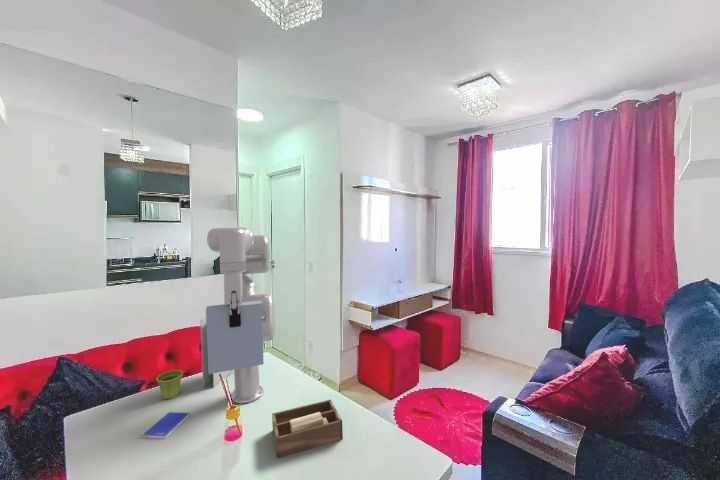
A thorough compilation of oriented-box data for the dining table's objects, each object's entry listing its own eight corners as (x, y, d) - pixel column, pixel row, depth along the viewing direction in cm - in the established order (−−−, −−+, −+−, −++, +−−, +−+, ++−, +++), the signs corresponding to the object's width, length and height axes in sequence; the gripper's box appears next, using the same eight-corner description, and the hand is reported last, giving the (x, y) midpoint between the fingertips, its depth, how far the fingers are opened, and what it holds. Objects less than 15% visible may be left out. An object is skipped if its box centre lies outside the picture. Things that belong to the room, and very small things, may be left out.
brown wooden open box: (272, 430, 102) (272, 413, 102) (331, 415, 110) (330, 399, 110) (277, 458, 90) (276, 438, 89) (342, 438, 97) (342, 421, 97)
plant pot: (188, 393, 127) (187, 373, 126) (163, 404, 119) (162, 383, 118) (176, 387, 132) (176, 368, 131) (153, 397, 124) (152, 377, 124)
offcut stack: (285, 443, 96) (284, 421, 96) (327, 431, 102) (326, 409, 101) (288, 453, 92) (287, 429, 92) (331, 439, 98) (330, 416, 97)
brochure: (213, 387, 131) (211, 320, 130) (202, 386, 132) (200, 319, 131) (233, 372, 145) (231, 311, 144) (223, 371, 146) (221, 310, 145)
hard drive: (164, 435, 99) (189, 412, 112) (141, 434, 100) (168, 411, 112) (164, 440, 99) (189, 416, 112) (142, 439, 100) (168, 415, 112)
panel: (209, 368, 94) (207, 306, 93) (262, 359, 100) (260, 300, 99) (208, 374, 91) (205, 309, 90) (263, 364, 97) (261, 303, 96)
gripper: (221, 265, 100) (223, 318, 101) (218, 271, 85) (220, 334, 86) (245, 263, 103) (247, 315, 104) (246, 269, 88) (248, 331, 89)
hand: (235, 323), depth 95 cm, fingers closed on panel, 4 cm apart
